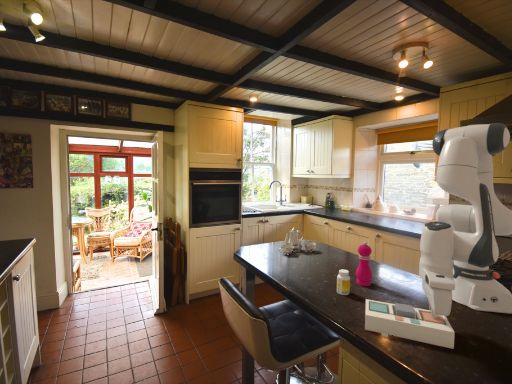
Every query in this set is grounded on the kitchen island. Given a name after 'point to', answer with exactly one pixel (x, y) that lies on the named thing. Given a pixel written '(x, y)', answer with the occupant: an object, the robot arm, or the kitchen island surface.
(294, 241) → the chinaware
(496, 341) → the kitchen island surface
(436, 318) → the terracotta key
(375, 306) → the teal key
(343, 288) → the supplement bottle
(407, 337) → the three-slot colour tray
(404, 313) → the slate key
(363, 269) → the pepper mill
